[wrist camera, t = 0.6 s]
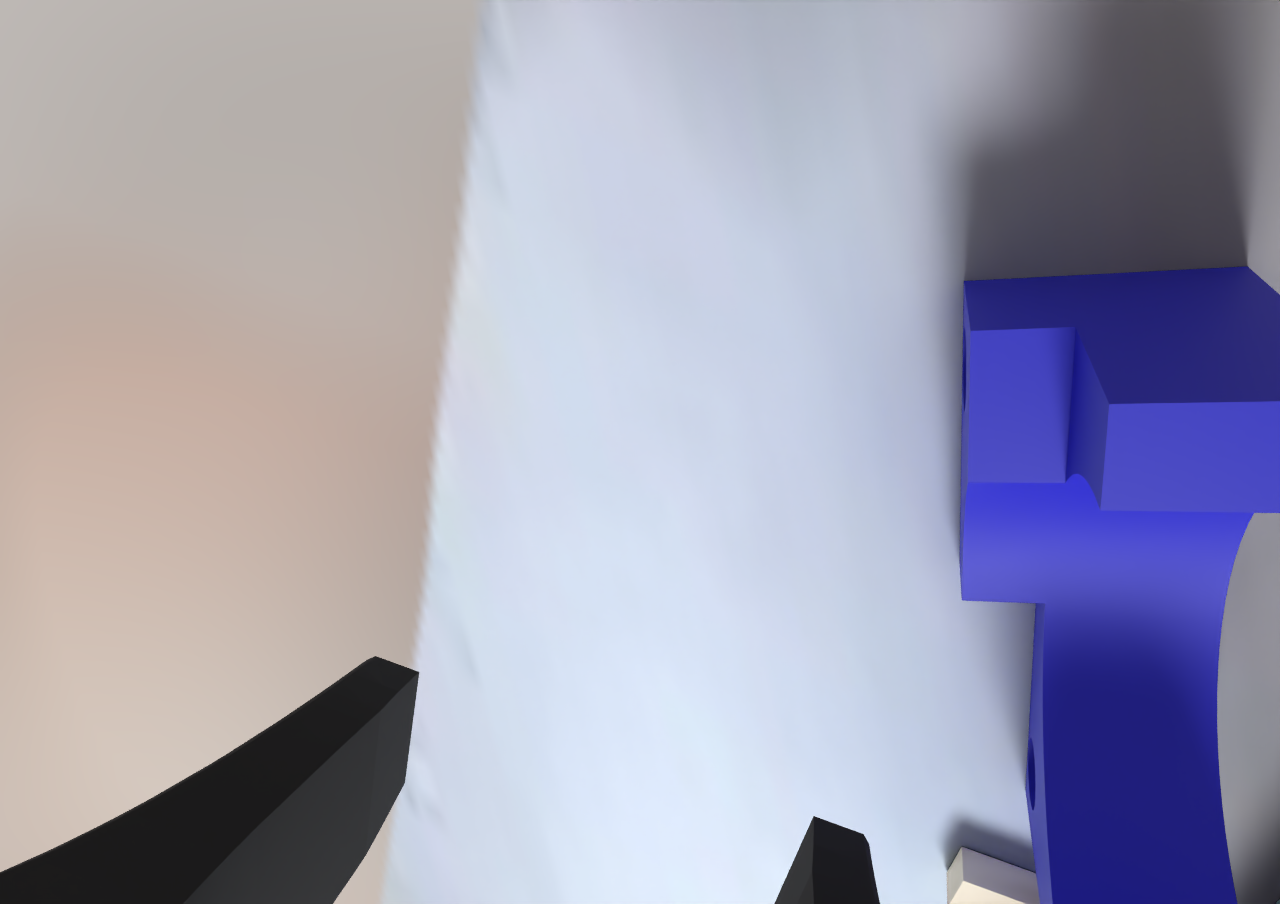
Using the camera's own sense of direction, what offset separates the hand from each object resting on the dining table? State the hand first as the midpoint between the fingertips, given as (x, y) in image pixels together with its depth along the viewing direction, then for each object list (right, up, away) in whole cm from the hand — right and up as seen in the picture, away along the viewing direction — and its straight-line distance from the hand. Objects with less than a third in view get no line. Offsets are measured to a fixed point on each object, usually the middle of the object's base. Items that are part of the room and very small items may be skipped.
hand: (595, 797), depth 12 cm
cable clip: (+9, +2, +8) cm, 12 cm away
